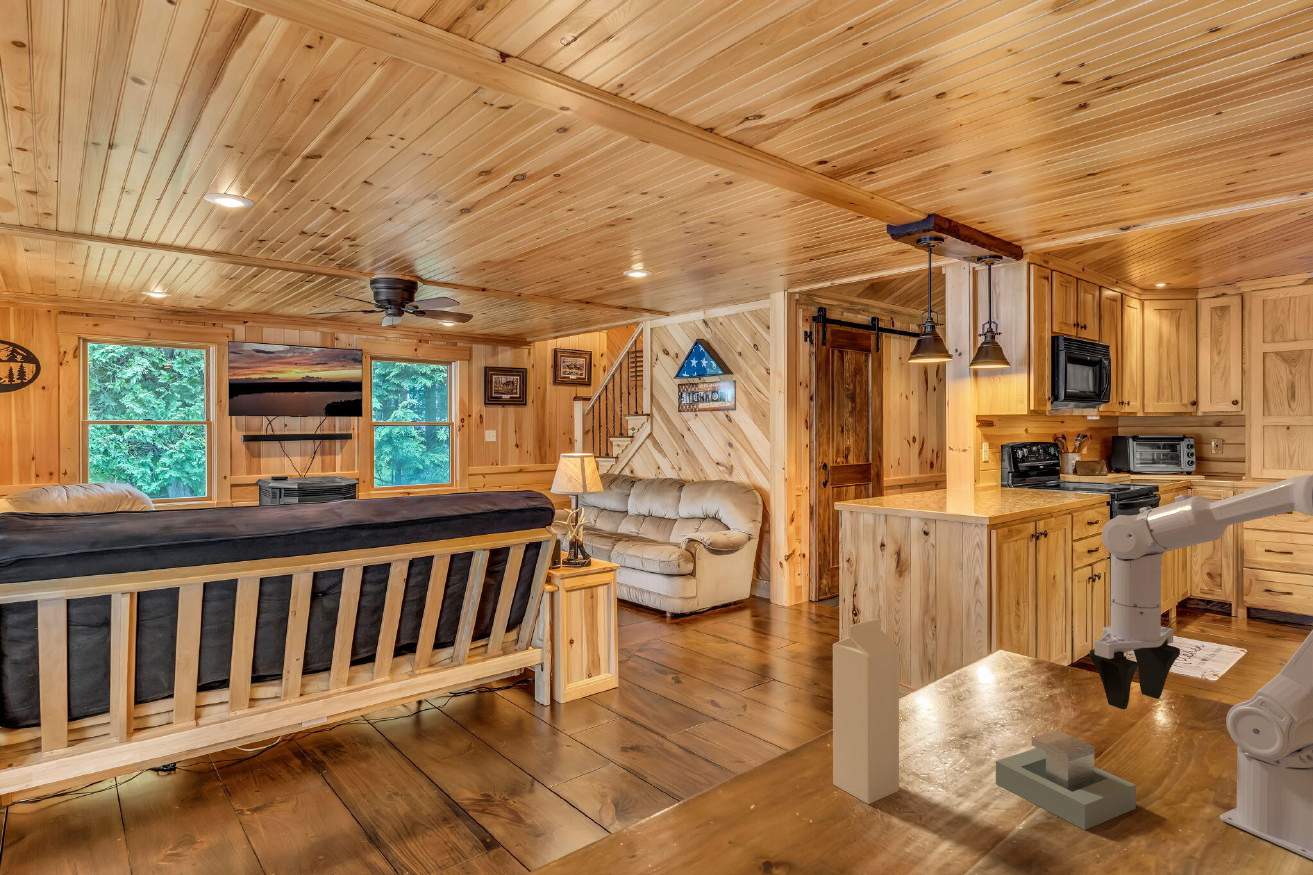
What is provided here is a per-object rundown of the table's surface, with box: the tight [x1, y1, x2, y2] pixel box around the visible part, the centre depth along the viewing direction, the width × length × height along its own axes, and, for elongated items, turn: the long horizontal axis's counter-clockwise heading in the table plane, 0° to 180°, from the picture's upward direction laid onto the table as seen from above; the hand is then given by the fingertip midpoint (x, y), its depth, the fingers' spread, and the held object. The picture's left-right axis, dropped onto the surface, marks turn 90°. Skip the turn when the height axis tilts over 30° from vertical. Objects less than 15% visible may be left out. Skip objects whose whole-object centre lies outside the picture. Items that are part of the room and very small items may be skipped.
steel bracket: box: [1031, 729, 1095, 792], centre depth 91 cm, size 5×5×7 cm
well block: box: [995, 747, 1137, 831], centre depth 91 cm, size 12×10×3 cm
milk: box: [832, 618, 900, 805], centre depth 93 cm, size 6×6×22 cm
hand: (1134, 701), depth 98 cm, fingers open, 7 cm apart
